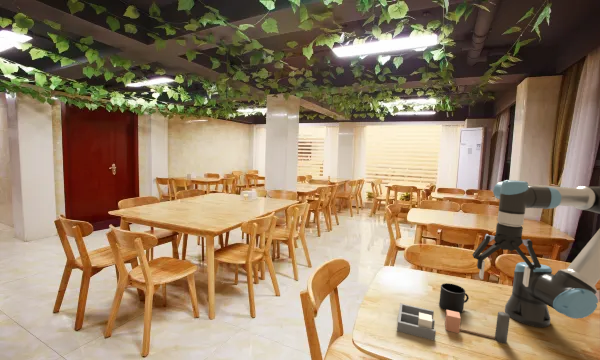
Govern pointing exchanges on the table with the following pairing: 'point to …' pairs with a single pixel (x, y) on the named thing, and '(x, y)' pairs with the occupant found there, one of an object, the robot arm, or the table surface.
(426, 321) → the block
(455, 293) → the mug
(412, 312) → the lane shelf
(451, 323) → the block
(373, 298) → the table surface
